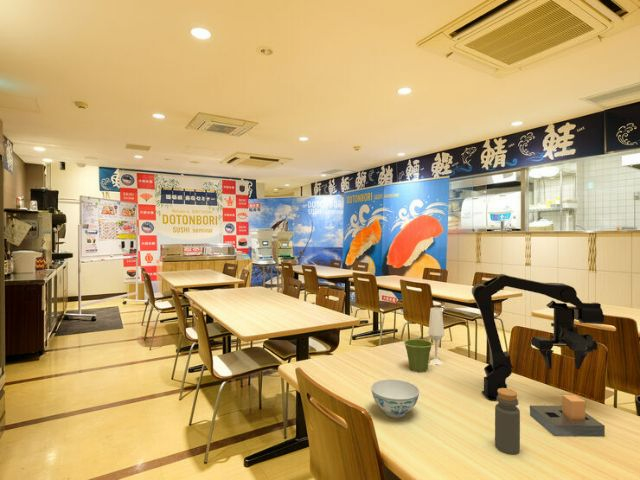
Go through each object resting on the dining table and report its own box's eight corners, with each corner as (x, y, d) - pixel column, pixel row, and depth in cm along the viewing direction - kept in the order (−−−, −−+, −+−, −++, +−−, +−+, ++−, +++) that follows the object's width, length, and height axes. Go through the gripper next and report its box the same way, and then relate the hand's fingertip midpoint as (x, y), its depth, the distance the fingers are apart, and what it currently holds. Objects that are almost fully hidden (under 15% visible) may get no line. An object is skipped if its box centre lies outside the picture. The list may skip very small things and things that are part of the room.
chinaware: (420, 405, 119) (420, 382, 119) (417, 428, 105) (417, 402, 105) (375, 399, 124) (375, 376, 124) (366, 420, 110) (366, 394, 110)
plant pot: (410, 362, 161) (410, 337, 161) (436, 368, 154) (436, 341, 154) (399, 370, 151) (399, 343, 151) (427, 376, 144) (427, 348, 144)
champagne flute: (444, 366, 156) (444, 310, 156) (427, 364, 158) (428, 309, 158) (444, 361, 162) (444, 307, 162) (428, 359, 165) (428, 307, 164)
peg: (571, 428, 105) (571, 401, 105) (562, 421, 109) (562, 395, 109) (585, 428, 105) (585, 401, 105) (575, 421, 109) (575, 395, 109)
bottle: (490, 442, 98) (490, 387, 98) (511, 441, 99) (511, 386, 98) (503, 455, 92) (503, 396, 92) (524, 454, 93) (525, 395, 93)
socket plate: (554, 435, 101) (554, 425, 101) (529, 414, 113) (529, 405, 113) (604, 436, 101) (604, 425, 101) (575, 415, 113) (575, 405, 113)
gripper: (550, 328, 112) (550, 378, 112) (611, 328, 111) (611, 378, 112) (530, 319, 123) (530, 365, 123) (585, 319, 123) (585, 365, 123)
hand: (563, 368), depth 120 cm, fingers open, 9 cm apart
